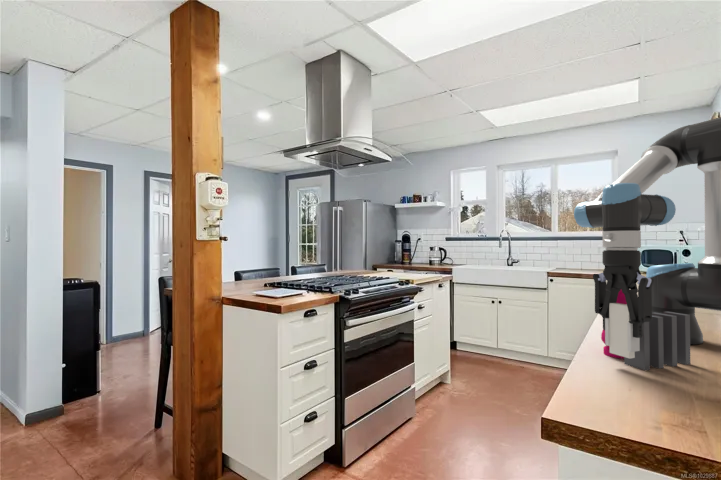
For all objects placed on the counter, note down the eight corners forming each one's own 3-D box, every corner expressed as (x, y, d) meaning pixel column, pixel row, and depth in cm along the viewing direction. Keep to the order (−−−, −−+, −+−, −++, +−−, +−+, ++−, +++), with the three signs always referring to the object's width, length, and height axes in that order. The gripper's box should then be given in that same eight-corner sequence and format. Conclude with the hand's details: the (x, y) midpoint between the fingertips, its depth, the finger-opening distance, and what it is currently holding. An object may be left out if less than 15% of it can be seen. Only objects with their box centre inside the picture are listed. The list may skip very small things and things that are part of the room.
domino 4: (668, 358, 98) (668, 311, 99) (690, 364, 94) (689, 314, 94) (664, 358, 98) (663, 311, 98) (685, 364, 93) (685, 315, 93)
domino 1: (629, 363, 94) (628, 314, 95) (649, 369, 90) (649, 318, 90) (624, 364, 94) (623, 315, 94) (644, 370, 89) (644, 318, 89)
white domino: (614, 352, 93) (614, 302, 93) (634, 357, 88) (634, 305, 88) (609, 352, 93) (609, 302, 93) (629, 358, 88) (629, 306, 88)
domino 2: (642, 361, 96) (642, 313, 96) (663, 367, 91) (663, 317, 91) (637, 362, 95) (637, 313, 95) (658, 368, 91) (658, 317, 91)
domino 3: (655, 360, 97) (655, 312, 97) (677, 366, 92) (676, 316, 92) (651, 360, 97) (650, 312, 97) (672, 366, 92) (671, 316, 92)
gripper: (576, 248, 98) (577, 340, 98) (647, 249, 81) (648, 360, 81) (599, 248, 101) (600, 337, 100) (673, 249, 83) (674, 357, 83)
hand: (621, 347), depth 91 cm, fingers closed on white domino, 5 cm apart
